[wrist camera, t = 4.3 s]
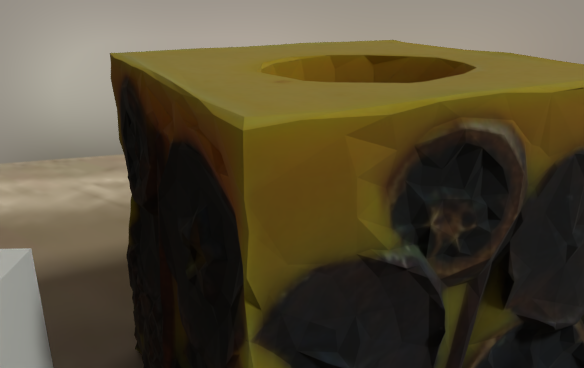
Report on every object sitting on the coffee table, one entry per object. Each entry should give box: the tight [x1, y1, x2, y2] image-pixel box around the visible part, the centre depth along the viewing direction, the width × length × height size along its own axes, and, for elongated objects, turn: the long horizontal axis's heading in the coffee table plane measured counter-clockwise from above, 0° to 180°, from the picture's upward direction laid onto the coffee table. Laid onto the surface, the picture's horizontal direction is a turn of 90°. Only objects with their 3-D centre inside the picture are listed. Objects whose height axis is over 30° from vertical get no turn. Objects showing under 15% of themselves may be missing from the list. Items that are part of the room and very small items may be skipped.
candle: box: [110, 40, 584, 368], centre depth 15 cm, size 10×10×10 cm
